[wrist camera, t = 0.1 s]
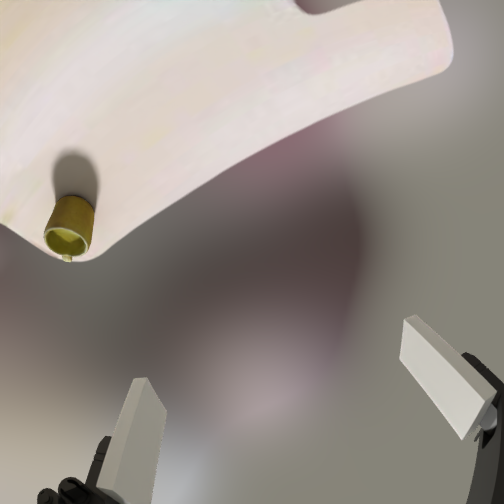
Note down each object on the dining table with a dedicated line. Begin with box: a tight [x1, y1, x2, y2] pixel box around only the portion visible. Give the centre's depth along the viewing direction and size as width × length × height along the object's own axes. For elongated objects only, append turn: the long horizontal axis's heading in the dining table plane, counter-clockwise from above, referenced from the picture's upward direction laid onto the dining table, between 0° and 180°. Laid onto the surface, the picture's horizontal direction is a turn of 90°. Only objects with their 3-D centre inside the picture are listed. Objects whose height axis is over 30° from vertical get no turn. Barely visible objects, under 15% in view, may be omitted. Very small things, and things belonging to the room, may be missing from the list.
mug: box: [44, 196, 94, 262], centre depth 42 cm, size 12×10×10 cm
